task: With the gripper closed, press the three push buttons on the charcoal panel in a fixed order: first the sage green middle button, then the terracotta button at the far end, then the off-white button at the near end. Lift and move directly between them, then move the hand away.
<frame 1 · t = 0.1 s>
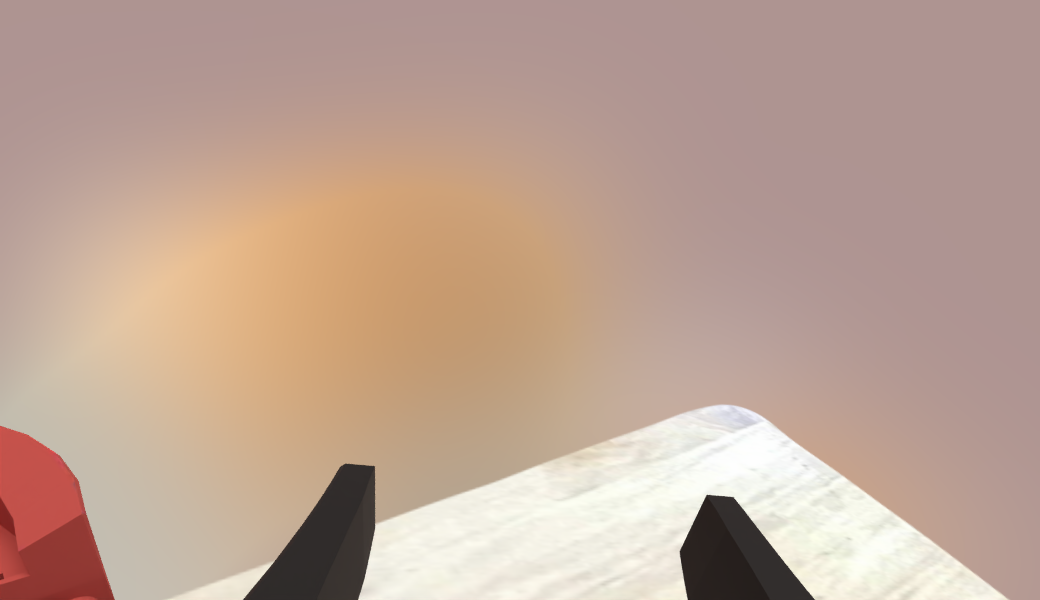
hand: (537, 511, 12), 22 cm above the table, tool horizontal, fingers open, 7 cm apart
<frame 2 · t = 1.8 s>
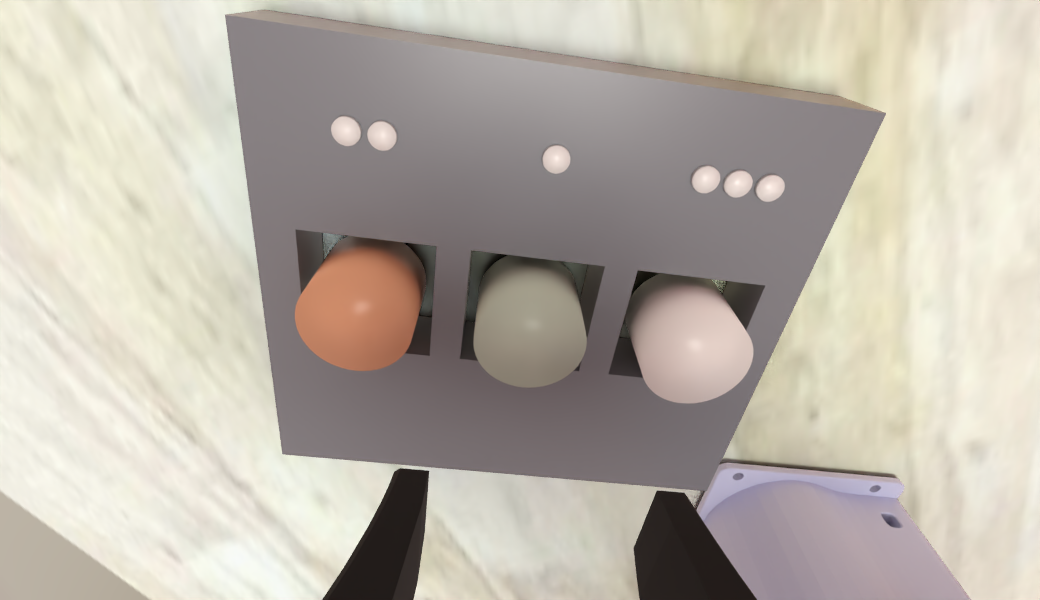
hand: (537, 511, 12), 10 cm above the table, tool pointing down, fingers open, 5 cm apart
button white: (684, 335, 19), point 3 cm above the table, slide at 0.0 cm
button terracotta: (365, 300, 18), point 3 cm above the table, slide at 0.0 cm
button panel: (527, 279, 21), on the table
button green: (528, 318, 18), point 3 cm above the table, slide at 0.0 cm
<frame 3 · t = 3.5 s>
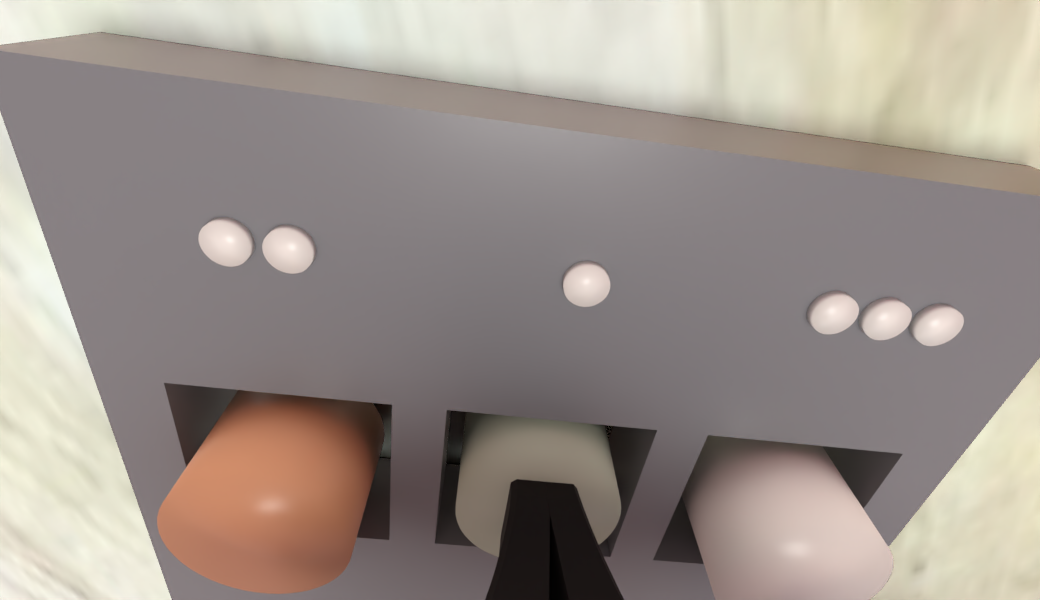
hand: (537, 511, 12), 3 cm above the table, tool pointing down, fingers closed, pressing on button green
button white: (772, 518, 12), point 3 cm above the table, slide at 0.0 cm
button terracotta: (285, 477, 11), point 3 cm above the table, slide at 0.0 cm
button panel: (533, 414, 14), on the table
button green: (535, 460, 13), point 2 cm above the table, slide at 1.1 cm, touching gripper
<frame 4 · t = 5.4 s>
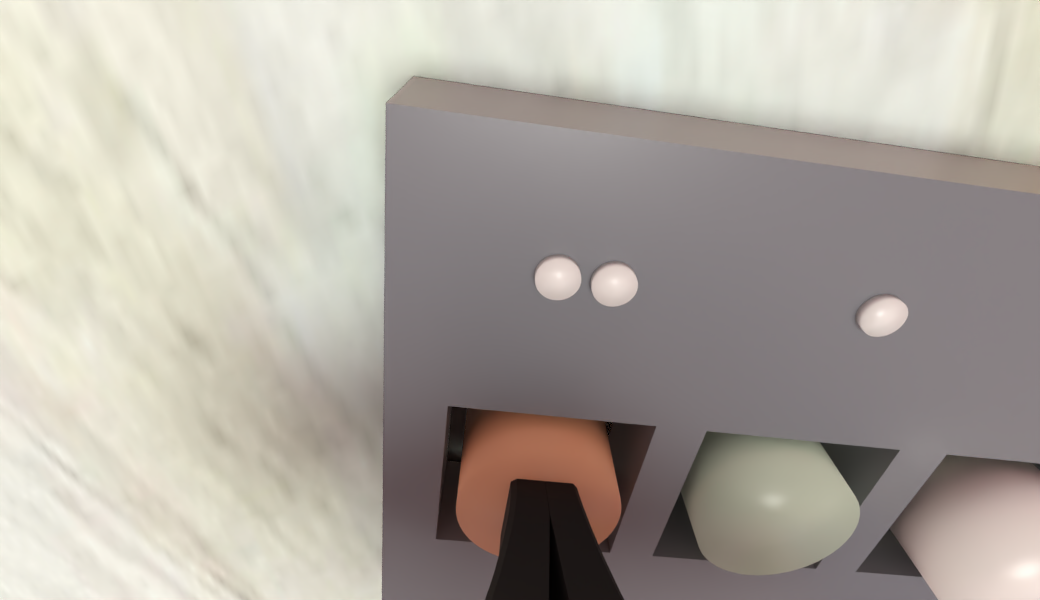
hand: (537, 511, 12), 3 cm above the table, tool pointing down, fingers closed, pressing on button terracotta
button white: (987, 532, 13), point 3 cm above the table, slide at 0.0 cm
button terracotta: (536, 459, 13), point 2 cm above the table, slide at 1.0 cm, touching gripper
button panel: (730, 430, 15), on the table
button green: (752, 475, 13), point 2 cm above the table, slide at 1.1 cm
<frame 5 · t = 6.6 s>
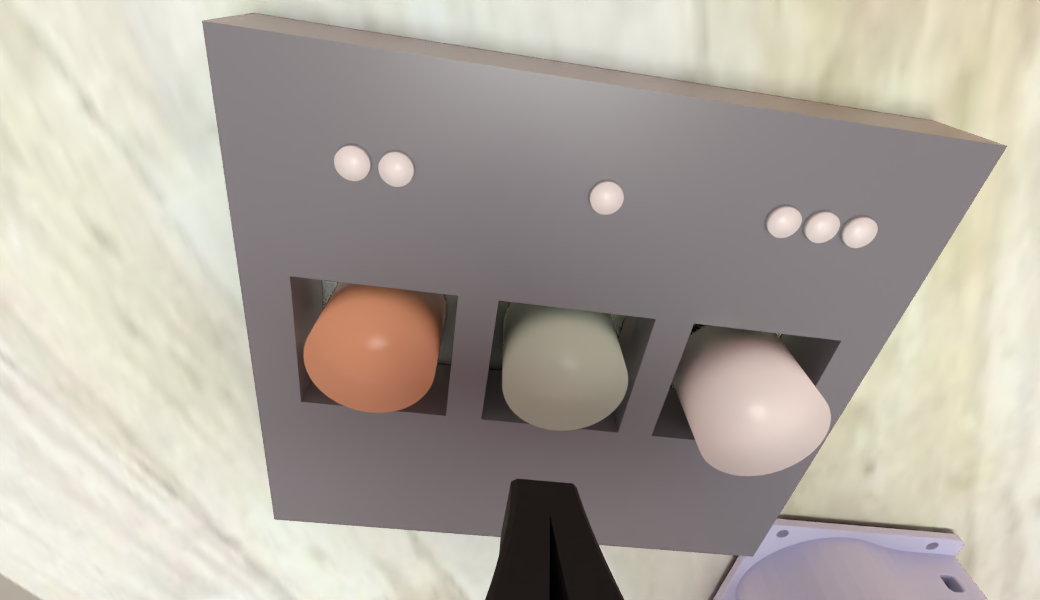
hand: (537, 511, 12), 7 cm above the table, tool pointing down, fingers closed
button white: (743, 395, 16), point 3 cm above the table, slide at 0.0 cm
button terracotta: (381, 333, 16), point 2 cm above the table, slide at 1.1 cm
button panel: (557, 324, 18), on the table
button green: (560, 353, 17), point 2 cm above the table, slide at 1.1 cm
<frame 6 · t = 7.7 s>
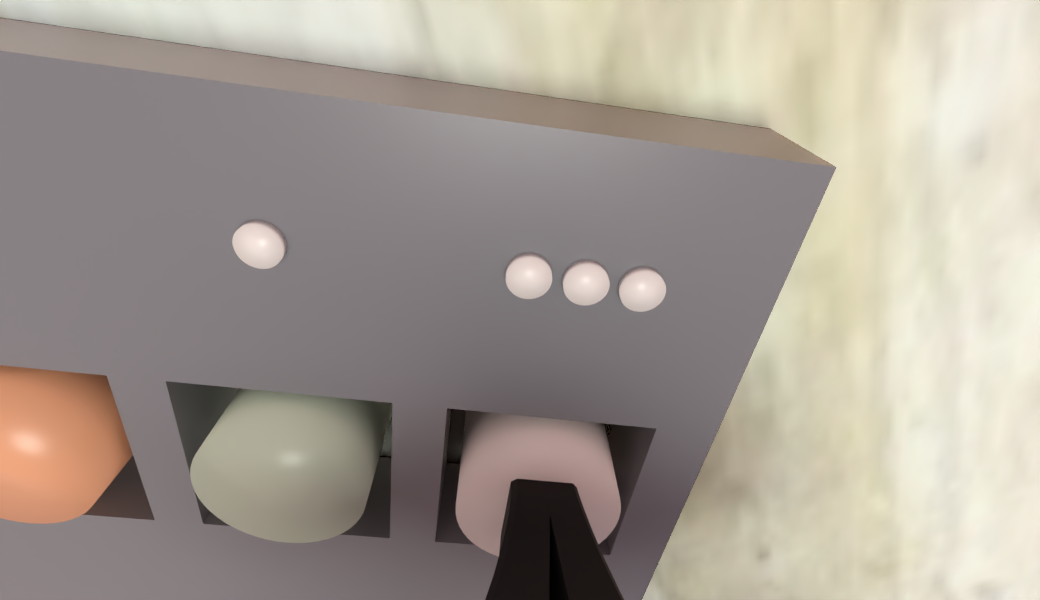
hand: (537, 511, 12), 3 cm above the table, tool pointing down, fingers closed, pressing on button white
button white: (535, 459, 13), point 2 cm above the table, slide at 1.1 cm, touching gripper
button terracotta: (56, 415, 12), point 2 cm above the table, slide at 1.1 cm
button panel: (324, 392, 14), on the table
button green: (304, 437, 13), point 2 cm above the table, slide at 1.1 cm
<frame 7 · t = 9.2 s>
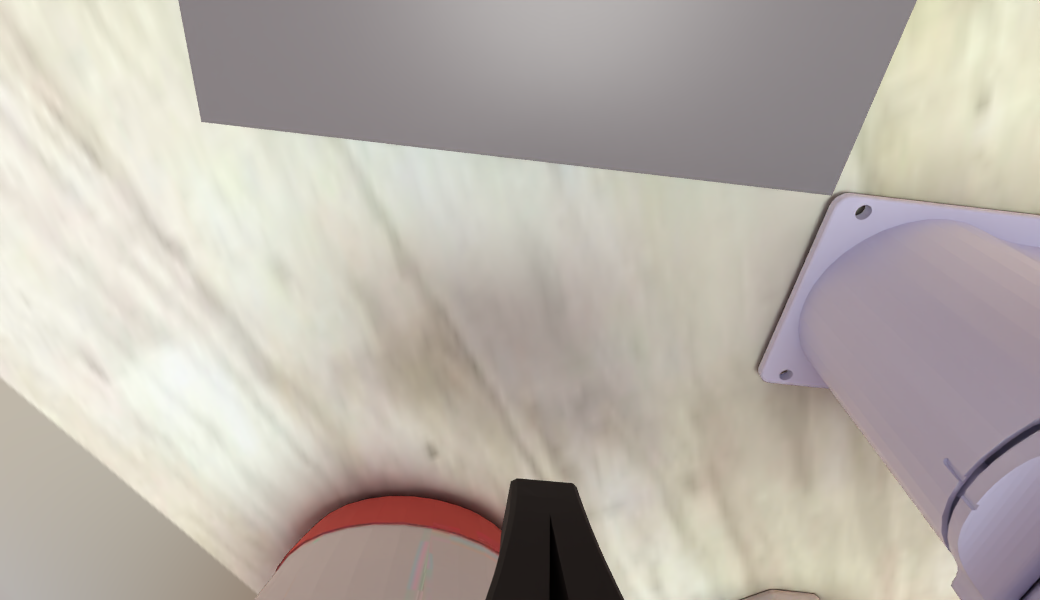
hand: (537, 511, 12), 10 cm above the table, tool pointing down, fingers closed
citrus juicer: (412, 546, 29), on the table
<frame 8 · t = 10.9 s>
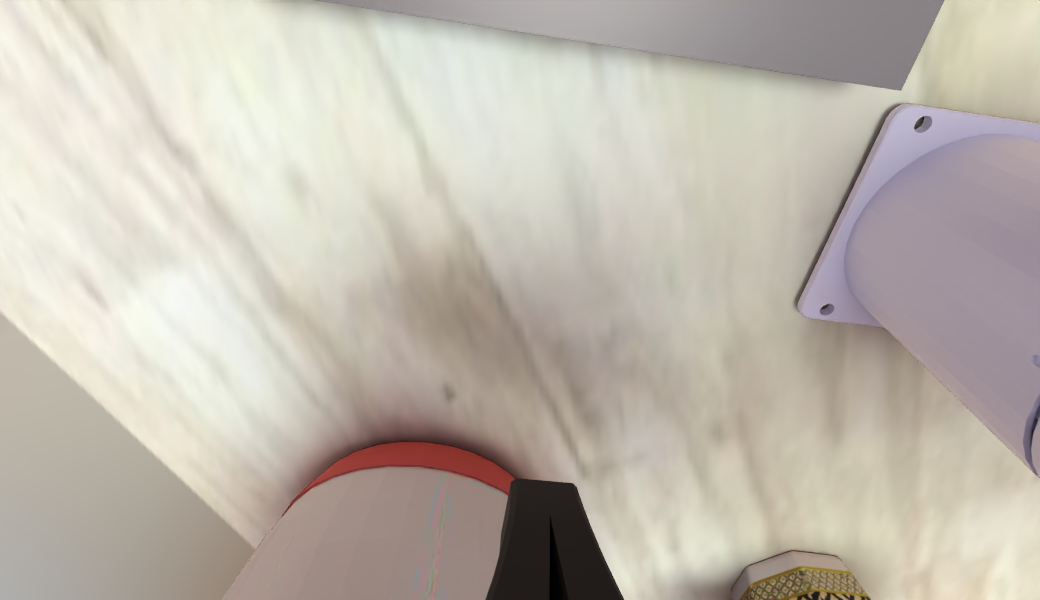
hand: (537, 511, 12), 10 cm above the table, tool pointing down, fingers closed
citrus juicer: (422, 500, 28), on the table
ceramic cup: (764, 578, 31), on the table
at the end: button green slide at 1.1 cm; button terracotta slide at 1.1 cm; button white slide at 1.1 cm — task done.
